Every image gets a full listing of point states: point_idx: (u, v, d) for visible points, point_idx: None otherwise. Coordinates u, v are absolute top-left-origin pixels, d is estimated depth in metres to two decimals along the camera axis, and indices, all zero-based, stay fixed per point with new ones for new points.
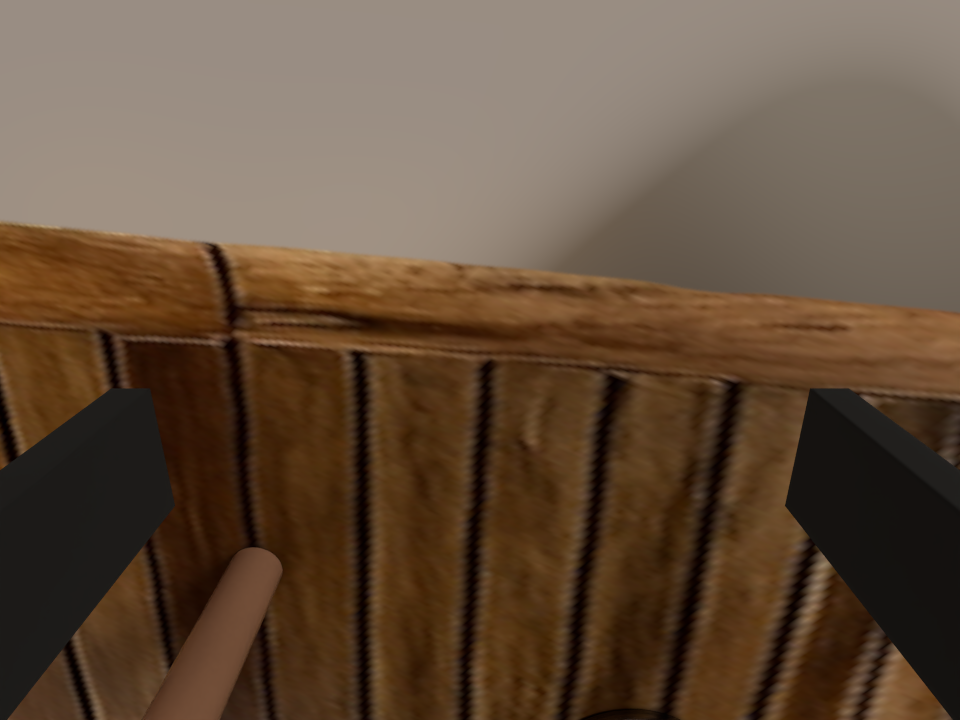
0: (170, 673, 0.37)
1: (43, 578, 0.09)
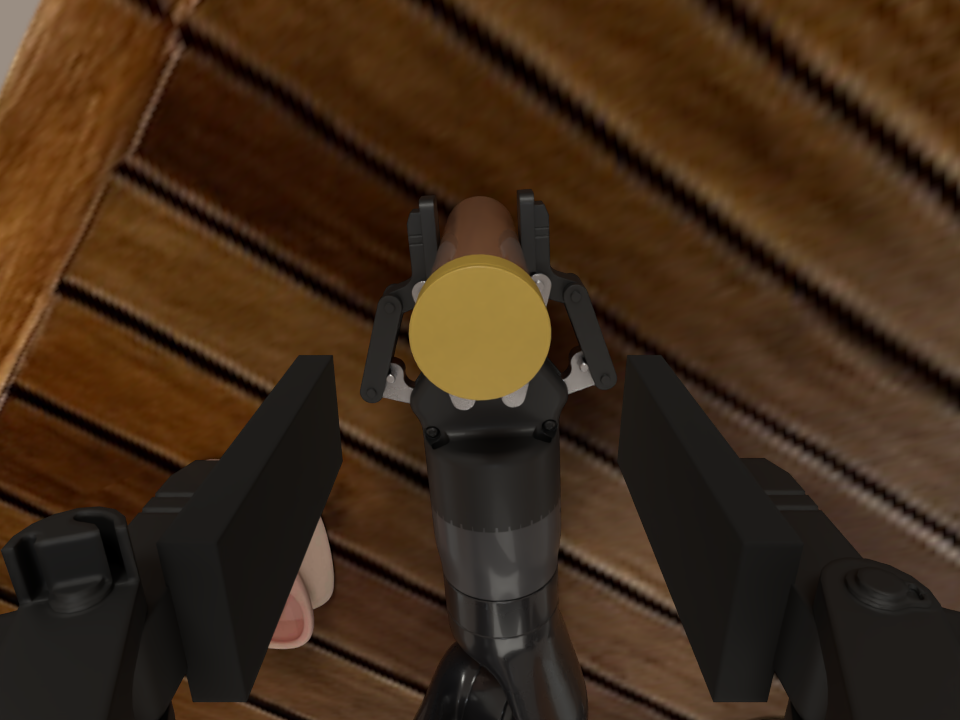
0: None
1: (292, 506, 0.11)
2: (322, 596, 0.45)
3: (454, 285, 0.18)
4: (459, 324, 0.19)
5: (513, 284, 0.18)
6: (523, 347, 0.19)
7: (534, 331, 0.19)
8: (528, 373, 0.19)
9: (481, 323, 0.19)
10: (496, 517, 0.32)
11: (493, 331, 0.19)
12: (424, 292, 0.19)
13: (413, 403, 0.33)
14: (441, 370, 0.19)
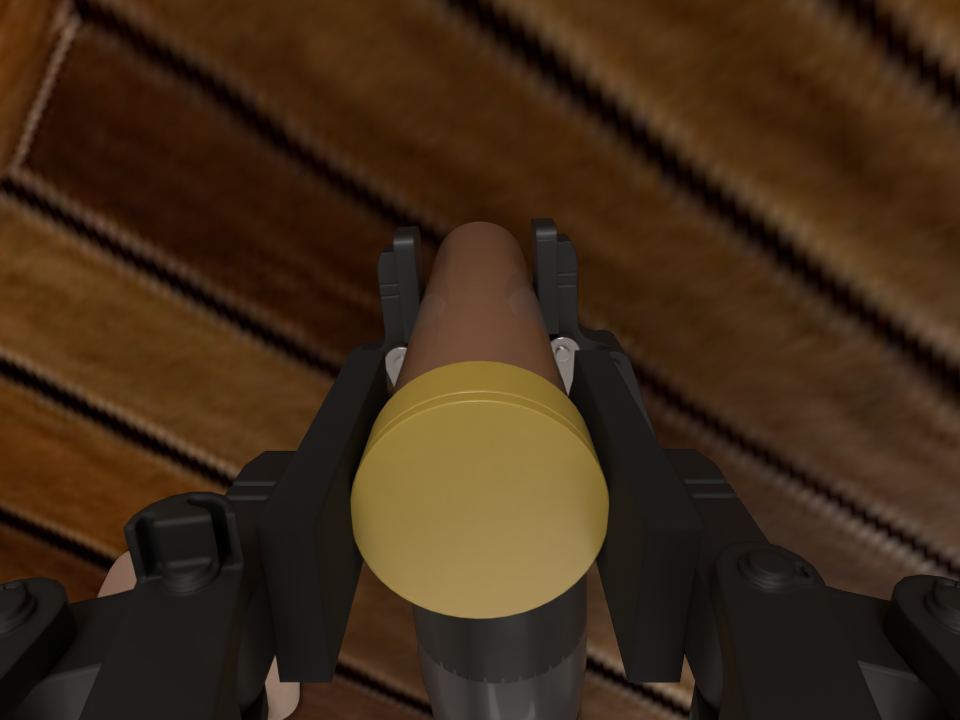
0: None
1: None
2: (285, 709, 0.36)
3: (431, 434, 0.10)
4: (441, 499, 0.10)
5: (542, 432, 0.10)
6: (558, 536, 0.10)
7: (579, 511, 0.10)
8: (566, 578, 0.11)
9: (482, 497, 0.10)
10: (502, 664, 0.23)
11: (504, 510, 0.10)
12: (375, 445, 0.10)
13: None
14: (410, 573, 0.11)
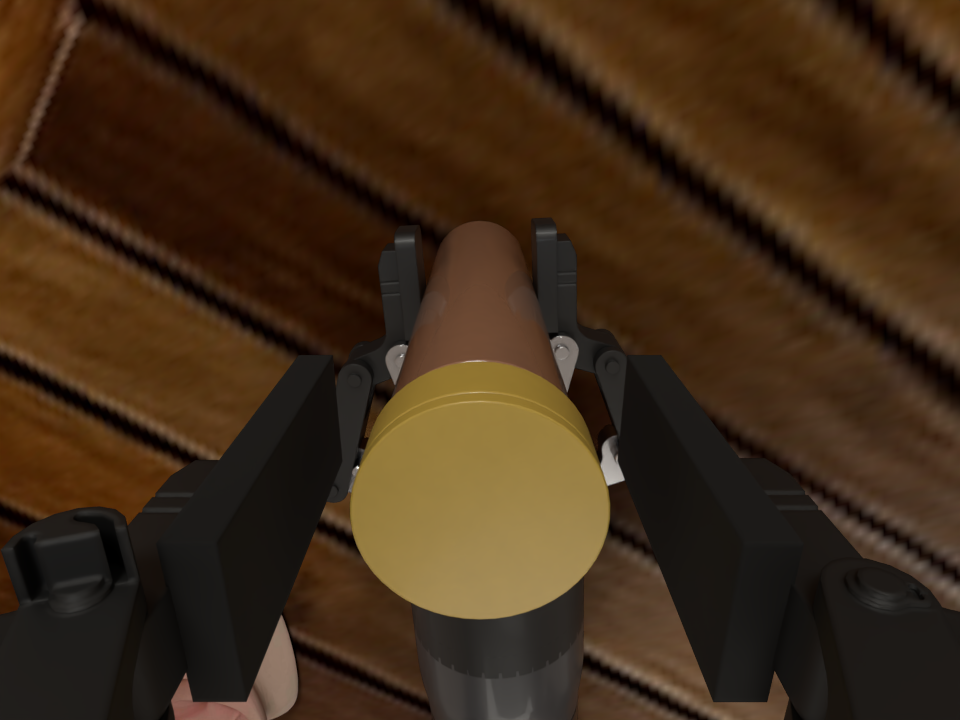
0: None
1: (292, 505, 0.11)
2: (283, 705, 0.36)
3: (377, 537, 0.10)
4: (449, 544, 0.11)
5: (395, 448, 0.10)
6: (521, 455, 0.10)
7: (495, 432, 0.10)
8: (576, 457, 0.10)
9: (456, 512, 0.10)
10: (500, 660, 0.24)
11: (476, 496, 0.10)
12: (382, 579, 0.11)
13: None
14: (526, 587, 0.11)
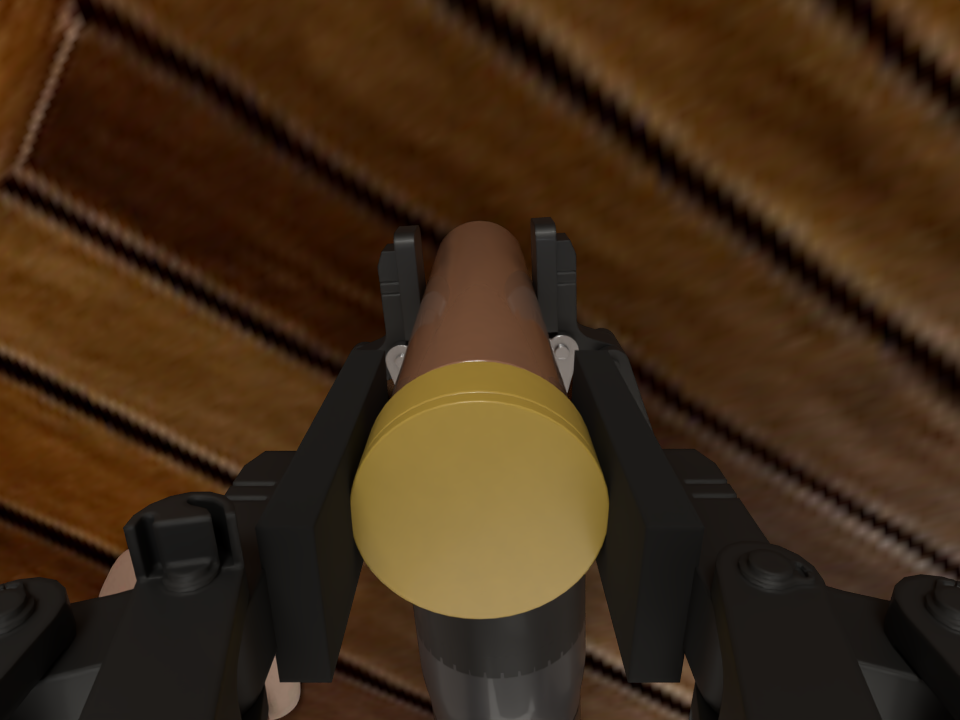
0: None
1: None
2: (286, 706, 0.36)
3: (377, 537, 0.10)
4: (449, 544, 0.11)
5: (394, 448, 0.10)
6: (520, 455, 0.10)
7: (495, 431, 0.10)
8: (575, 457, 0.10)
9: (456, 512, 0.10)
10: (502, 660, 0.24)
11: (476, 496, 0.10)
12: (382, 579, 0.11)
13: None
14: (526, 587, 0.11)
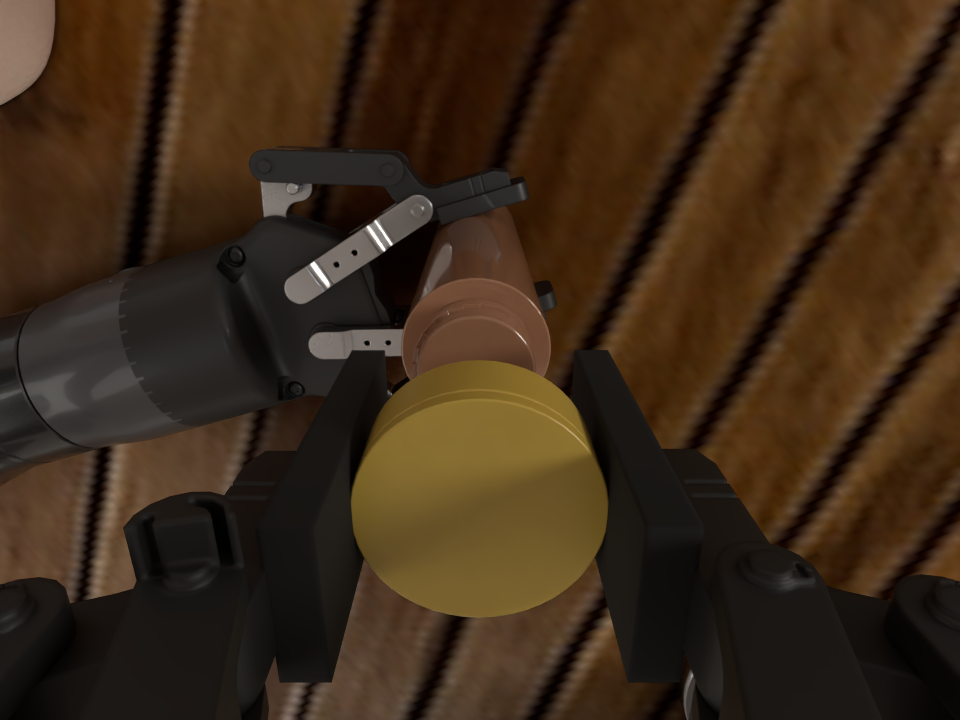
0: (457, 239, 0.21)
1: None
2: None
3: (377, 535, 0.11)
4: (449, 543, 0.11)
5: (394, 447, 0.10)
6: (520, 453, 0.10)
7: (495, 430, 0.10)
8: (575, 455, 0.10)
9: (456, 510, 0.10)
10: (159, 374, 0.24)
11: (476, 494, 0.10)
12: (382, 577, 0.11)
13: (267, 223, 0.25)
14: (526, 585, 0.11)
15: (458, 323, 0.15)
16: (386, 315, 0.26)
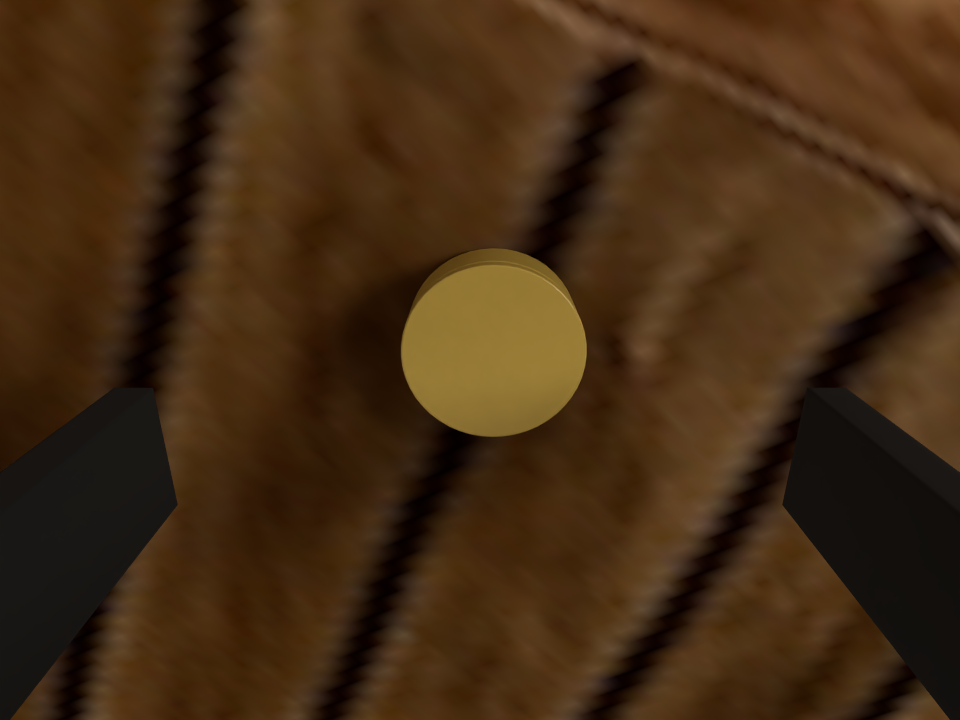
0: None
1: (48, 576, 0.09)
2: None
3: (420, 370, 0.15)
4: (471, 376, 0.15)
5: (433, 301, 0.14)
6: (523, 306, 0.14)
7: (505, 288, 0.14)
8: (561, 307, 0.14)
9: (476, 350, 0.14)
10: None
11: (491, 338, 0.14)
12: (423, 404, 0.15)
13: None
14: (527, 410, 0.15)
15: None
16: None
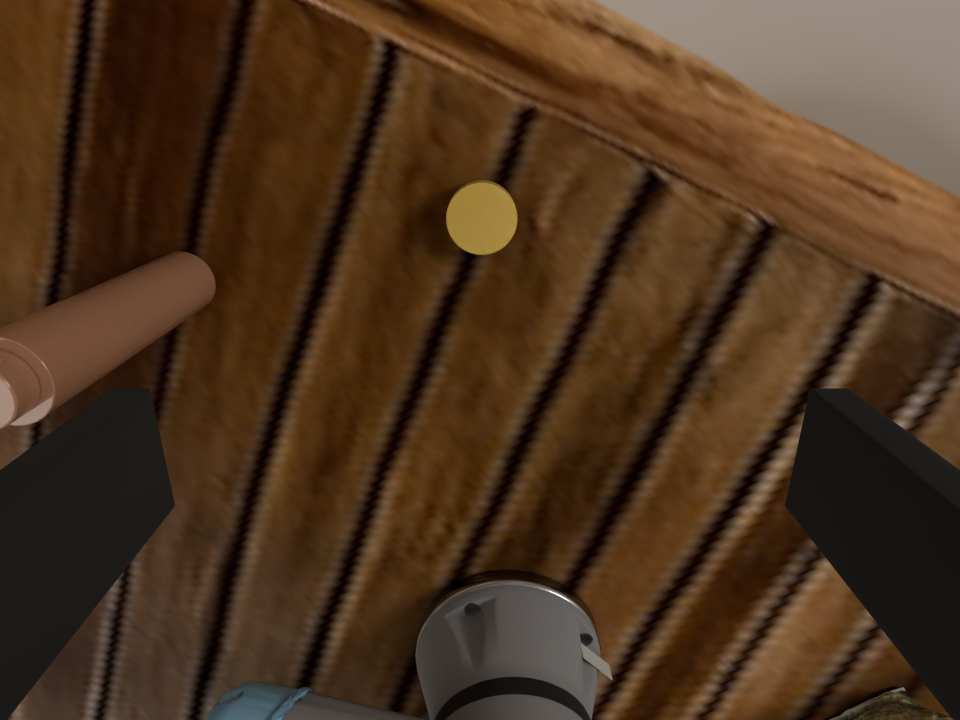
0: (62, 300, 0.30)
1: (43, 578, 0.09)
2: None
3: (453, 225, 0.38)
4: (473, 228, 0.38)
5: (459, 197, 0.37)
6: (492, 198, 0.37)
7: (485, 191, 0.37)
8: (507, 199, 0.37)
9: (475, 217, 0.38)
10: None
11: (480, 212, 0.38)
12: (454, 240, 0.38)
13: None
14: (495, 242, 0.38)
15: None
16: None
